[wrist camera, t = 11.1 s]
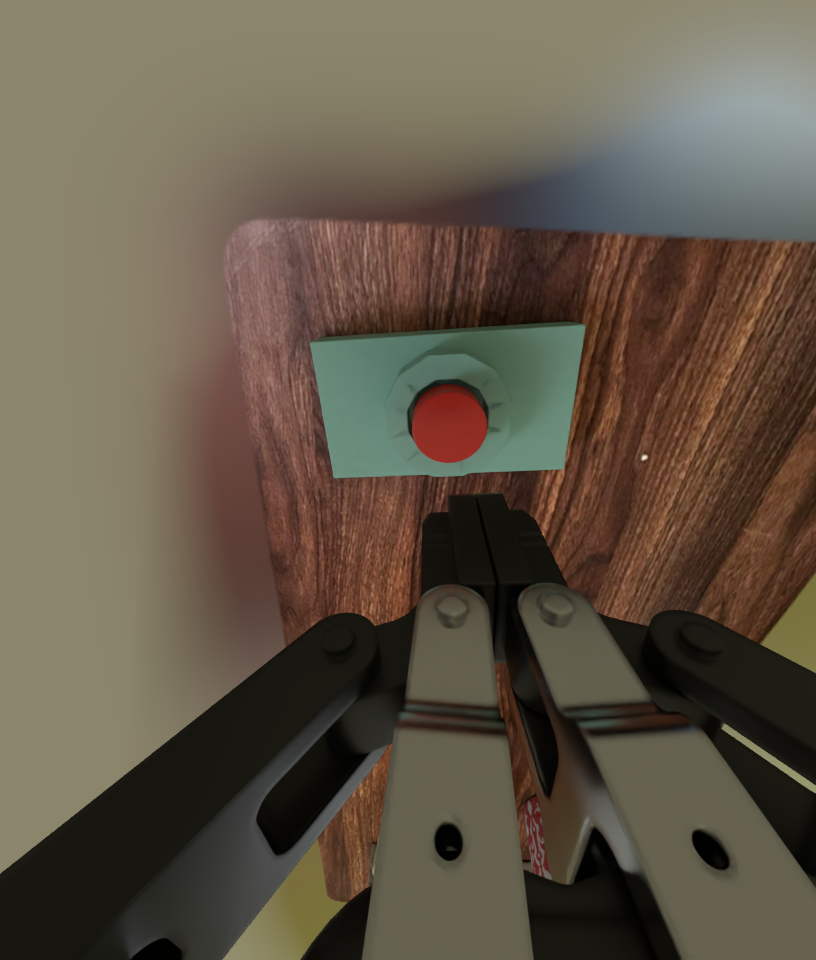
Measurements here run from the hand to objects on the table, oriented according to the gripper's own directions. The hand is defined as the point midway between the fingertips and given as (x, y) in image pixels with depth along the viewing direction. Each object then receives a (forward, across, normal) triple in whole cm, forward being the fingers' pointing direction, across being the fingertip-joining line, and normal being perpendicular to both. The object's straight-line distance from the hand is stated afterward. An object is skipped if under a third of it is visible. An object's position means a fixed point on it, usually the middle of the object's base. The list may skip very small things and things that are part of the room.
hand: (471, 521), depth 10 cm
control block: (+13, 0, 0) cm, 13 cm away
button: (+10, 0, 0) cm, 10 cm away
